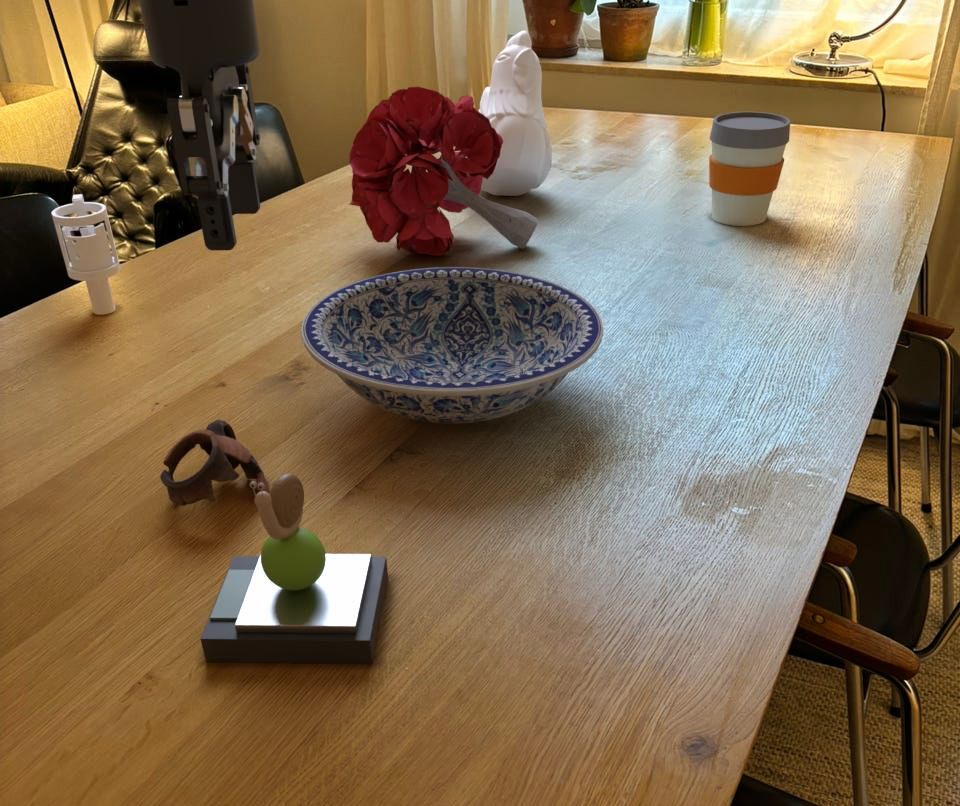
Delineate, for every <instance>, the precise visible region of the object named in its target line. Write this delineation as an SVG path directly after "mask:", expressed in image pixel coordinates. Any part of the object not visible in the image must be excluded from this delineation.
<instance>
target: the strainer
mask: <svg viewBox="0 0 960 806" xmlns="http://www.w3.org/2000/svg"><path fill="white" fill-rule="evenodd" d="M88 212H89V213H90V212H93V213H91V214H88ZM71 214H76V215H77V216H66V215H71ZM51 218H52V221H53V224H54V229H55V232H56V235H57V239H58V242H59V243H58V244H59V246H60V250H61V254H62V257H63V261H64V264H65V268H66V271H67V276H68V277H69V278H70V279H72V280H75V281H78V282H79V281H81V282H85V285H86V289H87V293H88V296H89V300H90V304H91V307H92V312H93V314H95V315H99V316H101V315H102V316H103V315H109V314H112V313H114V312H115V311H116V306H115V301H114V298H113V294H112V290H111V285H110V282H109V278H112V277H115V276H116V275H117V274H120V272H121V270H122V269H121V265H120V264H121V263H120V260H119V256H118V251H117V248H116V247H117V246H116V244H115V239H114V235H113V230H112V227H111V223H110V219H109V214H108V209H107V206H106V205H105V204H104V203H100V202H95V201H85V199H84V196H83V193H80V194H79V193H78V194H73V195H72V203H68V204H64V205H60V206H58V207H56V208H54V209H53V210H52V211H51ZM103 221H104V222H103ZM98 223H99V224H98ZM95 224H98V225H97V226H95ZM61 227H62V228H61ZM74 231H79V232H80V235H81V236H72V234H71V232H74ZM74 241H75V242H74Z"/></svg>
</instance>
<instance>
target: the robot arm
mask: <svg viewBox="0 0 960 806" xmlns="http://www.w3.org/2000/svg"><path fill="white" fill-rule="evenodd" d="M138 3H139V4H138V5H139V8H140V14H141V18H142V19H141V20H142V23H143V24H142V25H143V29H144V33H145V39H146V43H147V44H146V45H147V49H148V54H149V58H150V61H152V62H153V64H155V65H156V66H158V67H160V68H163V69H167V70H168V69H173V70H175V71H176V72H178V73H179V76H180V89H181V95H179V96H178V98H168V99H167V101H166V103H167V104H166V112H167V113H168V121H169V125H170V126H169V127H170V130H171V136H172V143H173V148H174V154H175V159H176V165H177V172H178V177H179V182H180V184H179V185H180V186H179V187H180V189H181V192H182V195H184V196H192V197H193V198H195V199H196V204H197V210H198V215H199V220H200V226H201V230H202V236H203V242H204V246H205V247H206V249H207V250H209V251H232V250H233V249H234V248H235V247H236V246H237V236H236V229H235V224H234V218H233V217H234V216H233V213H234V214H236V215H256V214H257V213H258V212H259V210H260V209H261V200H260V199H261V198H260V194H259V187H258V179H257V173H256V167H255V161H256V159H257V154H258V151H257V148H256V146H259V145H260V141H261V134H260V132H259V126H258V125H259V124H258V119H257V113H256V107H255V100H254V94H253V88H252V81H251V75H250V73H251V70H250V66H249V63H251V62H253V61H255V60H257V58H258V57H259V55H260V49H261V48H260V43H259V42H260V41H259V35H258V34H259V33H258V27H257V20H256V13H255V5H254V0H138ZM204 166H205V169H206V175H202V168H203V167H204Z"/></svg>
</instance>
